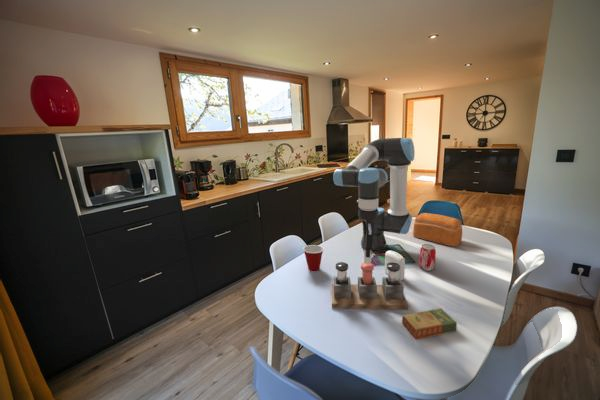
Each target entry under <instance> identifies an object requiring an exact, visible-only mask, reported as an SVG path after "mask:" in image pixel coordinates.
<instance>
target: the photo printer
mask: <svg viewBox="0 0 600 400" xmlns="http://www.w3.org/2000/svg"><path fill="white" fill-rule="evenodd" d="M391 262H393V263H397V264H399V265H400V270H399V271H398V277H399V278H400V280H401V281H404V278H405V268H406V267H405V266H406V259H405V257H403V255H402V254H400V253H398V252H397V251H394V250H387V251H385V253H384V273H385V274H387V275H388V269H387V264H388V263H391Z"/></svg>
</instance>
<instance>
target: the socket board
mask: <svg viewBox="0 0 600 400" xmlns="http://www.w3.org/2000/svg"><path fill="white" fill-rule="evenodd" d="M404 288H405V287H404V285H403V283H402V280H400V278H399V277H398V285H388V276H383V277H382V281H381V284H377V282H376V278H375V276H372V285H362V276H357V284H351V277H350V276H347V285H346V284H337V276H333V283H331V308H332V309H370V310H372V309H374V310H375V309H376V310H407V311H408V310H409V304H408V302H407V299H406V297H405V294H404Z"/></svg>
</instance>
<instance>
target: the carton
mask: <svg viewBox="0 0 600 400" xmlns="http://www.w3.org/2000/svg"><path fill="white" fill-rule="evenodd" d="M401 324H402V325H403V326H404V328H405V329H406V330H407V332H408V333H409V334H410V335H411V336H412V338H413V339H414V340H422V339H425V338H429V337H434V336H439V335H440V336H441V335H445V334H449V333H454V332H455V333H456V331H457V321H456V320H455V319H453V317H452V316H451V315H449V314H448V313H447V312H446V311H444V310H443V309H442V308H440V307H439V308H435V309H429V310H423V311H418V312H414V313H408V314H403V315H402V320H401Z"/></svg>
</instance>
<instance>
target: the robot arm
mask: <svg viewBox="0 0 600 400" xmlns="http://www.w3.org/2000/svg"><path fill="white" fill-rule="evenodd" d="M414 160H415V145H414V141H413V139H412V138H409V137H391V138H390V137H388V138H385V137H384V138H383V137H382V138H378V139H375V140H373V141H370V142H369V143H367V144H366V145H364V147H363V148H362V149H361V150H360V153H359V154H358V155H357V156H356V157H355V158H354V159H353V160H352V161H350V162H349V163H348V164H347V165H346V166H345V167H344V168H336V169H335V170H334V172H333V175H332V180H333V184H334V185H335V186H340V187H352V188H353V187H355V188H358V196H357V197H358V199H357V200H356V203H358V211H357V213H358V214H357V217H358V218H359V219H360V220H362V221H361V222H362V223H361V224H362V237H361V240H360V245H361V247H362V249H363V263H364V264H371V263H372V251H380V250H381V251H382V250H384V249H385V248H386V249H387V239H386V237H385V233H394V234H399V235H407V234H409V232H410V230H411V229H410V228H411V224H412V219H413V215H412V214H410V210H409V209H408V208H407V199H408V197H407V192H408V188H407V187H408V167H409V166H410V165H411V163H412V162H413V161H414ZM376 161H387V166H388V167H389V169H390V170H389V171H390V172H389V178H388V174H387V172H386V171H385V169H383V168H378V167H377V168H376V167H370V166H371V164H372V163H373V164H374V163H375V162H376ZM388 179H389V196H390V198H389V208H388V209H387V210H385V208H384V207H379V190H380V189H381V188H382V187H384V186H385V184H387V182H388ZM384 232H385V233H384Z"/></svg>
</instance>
